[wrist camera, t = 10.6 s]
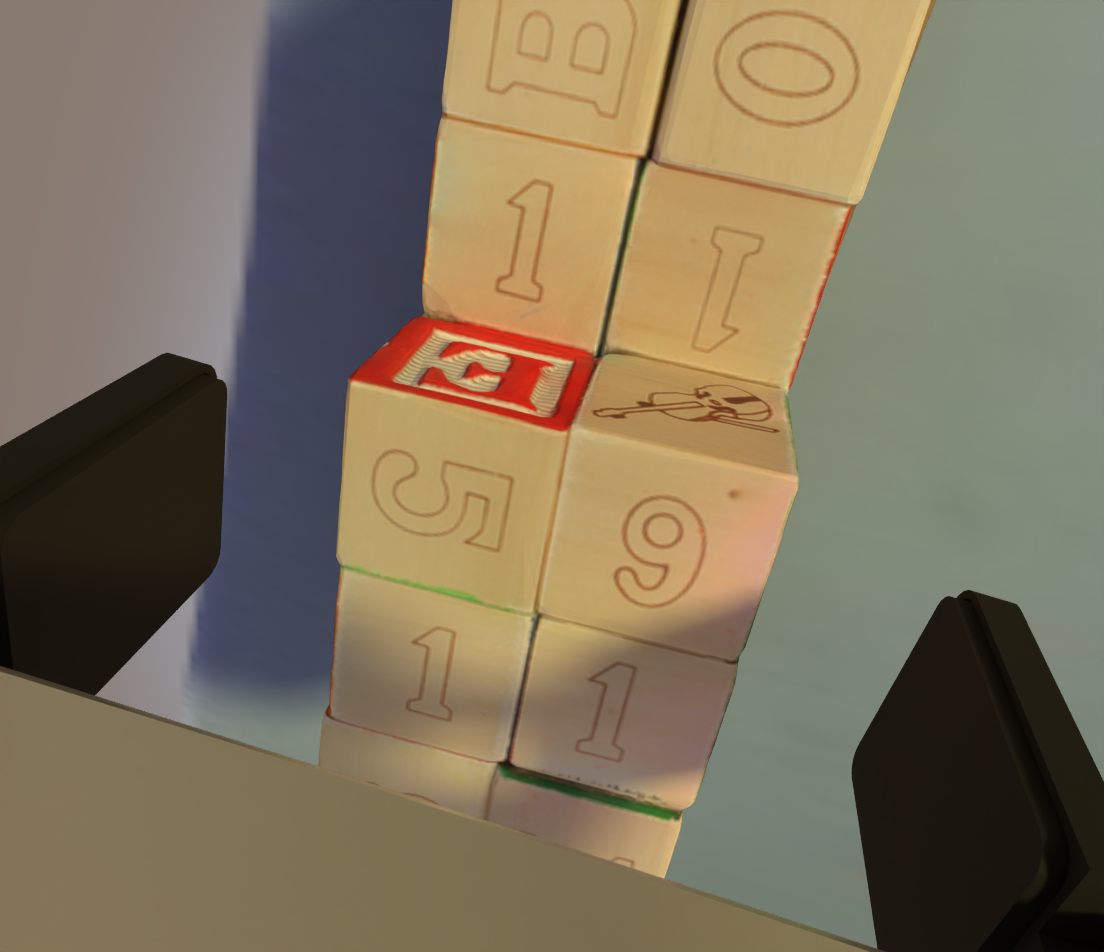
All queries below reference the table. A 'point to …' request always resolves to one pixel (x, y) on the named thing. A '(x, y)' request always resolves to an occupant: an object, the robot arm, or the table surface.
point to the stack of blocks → (596, 402)
